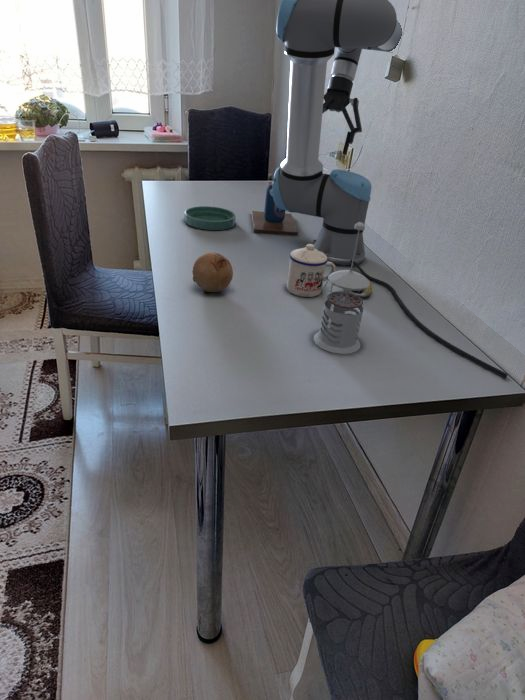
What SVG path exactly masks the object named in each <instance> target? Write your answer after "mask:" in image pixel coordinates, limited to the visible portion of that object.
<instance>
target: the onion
mask: <svg viewBox="0 0 525 700" xmlns="http://www.w3.org/2000/svg"><path fill="white" fill-rule="evenodd" d="M191 273H192V280H193V283H196V285H197V286H198V287H199V288H200V289H201V290H202V291H203V292H206V293H207V292H208V293H219V292H222V291H224V290H225V289H227V288H228V287H229V285H231V282H232V280H233V277H234V270H233V267H232V263H231V262H230V259H228V258H227V257H225V256H224V255H222V254H221V253H218V252H205V253H203V254H201V255H199V257H198V258H197V259H196V260H195V262H194V264H193V266H192V270H191Z"/></svg>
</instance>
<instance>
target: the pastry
mask: <svg viewBox="0 0 525 700" xmlns="http://www.w3.org/2000/svg"><path fill="white" fill-rule="evenodd" d="M369 282H370V286H369V287H368V288H366V289H365V290H360V291H351V290H348V291H347V292H348V293H352V294H355V295H357V296H359V297H360V298H367V297H369V296H370V295H371V294H372V292H373V286H372V285H373V284H372V282H371V280H369ZM343 292H346V290H345V289H343Z"/></svg>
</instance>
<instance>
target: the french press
mask: <svg viewBox="0 0 525 700" xmlns="http://www.w3.org/2000/svg"><path fill="white" fill-rule="evenodd" d="M365 227H366V226H365V225H364V224H363V223H361V222H358V223H356V224H355V226H354V228H355V229H356V230H358V234H357V239H356V244H355V250H354V255H353V260H352V265H351V266H350V269H343V270H342V269H341V270H335V272H333V273H331V274H330V273H329V274H330V275H329V274H328V275H329V276H328V275H327V276H328V279H329V280H327V281H325V284H324V287H323V292H322V297H323V298H322V301H323V311H322V317H321V322H320V328H319V330H318V332H316V333H315V334H314V335H313V341H314V343H315V345H316V346H318V347H319V348H320V349H322V350H324V351H327V352H330V353H332V354H333V353H334V354H340V355H346V354H347V355H348V354H353V353H356V352H357V351H359V350H360V348H361V341H360V340H359V339H358V336H359V332H360V329H359V328H360V327H361V321H362V318H363V314H364V307H363V305H364V300H363V298H362V297H360V296H357V295H355V294H352V293H348V292H347V291H348V290H351V291H360V290H365V289H366V288H368V287H369V286H370V282H371V281H370V279H368V278H367V277H365V276H364V275H363V274H362V273H361V272H358V271H353V266H354V265H353V261H354V256H355V251H356V246H357V241H358V236H359V231H360V230H363V231H365ZM369 281H370V282H369ZM329 282H330V283H331V286H330V290H329V293H328V294H327V295H326V300H325V292H326V286H327V284H328V283H329ZM333 286H334V287H337V288H339V289H342V290H343V291H342V290H336V291H333ZM344 289H345V290H346V292H344ZM331 308H332V309H331ZM357 309H358V310H359V311H358V310H357ZM346 312H352V313H346ZM353 313H355V314H353Z"/></svg>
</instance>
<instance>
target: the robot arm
mask: <svg viewBox="0 0 525 700" xmlns="http://www.w3.org/2000/svg"><path fill="white" fill-rule="evenodd" d="M398 21H399V20H398V17H397V13H396V9H395V7H394V5H393V4H392V3H391V1H390V0H280V3H279V7H278V12H277V17H276V27H275V29H276V38H277V39H278V41H279V42H281V43H284V54H285V55H286V56H287V58H288V59H289V60H290V71H289V93H288V94H289V95H288V112H287V113H288V114H287V115H288V116H287V138H286V158H284V159H283V160H282V161H281V162H280V166H278V167H277V168H276V169H275V171H274V173H273V174H274V175H273V181H272V182H273V186H272V190H273V199H274V202H275V204H276V206H277V207H278V208H280V209H282V210H285V212H289V213H291V214H292V213H297V214H301V215H306V216H311V217H317V218H323V219H322V226H321V229H320V231H319V233H318V235H317V237H316V239H313V241H312V244H313V245H314V246H315V249H317V250H318V251H320V252H322V253H324V254H325V255H326V256H327V259H328V262H332V263H333V264H334V265H335V266H343V267H344V266H346V267H351V265H352V260H353V255H354V250H355V244H356V239H357V234H358V230H356V229H355V228H354V226H355V224H356V223H358V222H361V223H363V224H364V226H365V224H366V219H367V214H368V209H369V204H370V201H371V195H372V194H371V193H372V187H373V186H372V182H371V181H370V180H369V179H368V178H367V177H365V176H364V175H361V174H359V173H356V172H353V171H349V170H345V169H340V168H339V169H337V168H336V169H332V170H331V172H330V173H324V172H323V171H324V164H323V163H322V161H320V159H319V155H320V144H321V133H322V122H323V114H325V113H326V112H327V111H330V112H336V113H340V112H342V114H343V116H344V119H345V121H346V123H347V126H348V127H349V131H347V134H346V137H345V141H344V145H343V149H342V154H343V155H345V156H347V154H348V151H349V148H350V145H353V143H354V140H355V135H356V134H357V133H362V131H363V128H362V122H361V116H360V111H359V104H360V101H359V98H358V97H354V98H351V95H352V90H353V85H354V82H353V81H355V78H356V74H357V70H358V66H359V62H360V58H361V54H362V51H363V50H368V51H377V52H378V51H379V52H386V53H391V52H390V51H392V50H393V49H395V48H396V46H397V45H398V43H399V41H400V39H401V36H402V28H401V25H400V23H399V22H398ZM335 49H336V51H335ZM333 56H334V60H333V64H332V68H331V71H330V77H329V79H328V84H327V89H326V79H327V78H326V76H327V66H328V62H329V60H330V59H332V58H333ZM325 89H326V92H325ZM349 105H350V106H351V107H352V109H353V115H354V121H355V122H354V123H355V126H354V124H353V121H352V119H351V117H350V115H349V113H348V110H347V108H346V107H348V106H349ZM365 256H366V251H365V241H364V230H360V231H359V236H358V241H357V246H356V251H355V256H354V261H353V266H354V267H355V268H357V270H358V271H359V273H360V274H361V275H363V276H365V277H366V278H367V279H368V280H369V281H373V282H374V283H378V284H380V285H383V286H384V287H386V288H388V290H389V291H391V293H392V296H393V297H394V298H395V300H396V301H397V302H398V304H399V305H400V307H401V308H402V309H403V311H404V312H405V313H406V314H407V315H408V316H409V318H410V319H411V320H412V321H413V322H414V323H415V324H416V325H417V326H418V327H420V329H422V330H423V331H424V332H426V333H427V334H428V335H430V337H432V338H434V339H435V340H436V341H438V342H439V343H441V344H443V345H444V346H445V347H448V348H450V350H452V351H454V352H456V353H458V354H460V355H461V356H463V357H465V358H467V359H469V360H471V361H473V362H474V363H477V364H478V365H481V366H482V367H484V368H486V369H488V370H489V371H492V372H494V373H496V374H498V375H499V376H502V377H503V378H507V377H508V375H509V374H508V373H506V372H505V371H503V370H501V369H499V368H497V367H495V366H493V365H491V364H489V363H487V362H485V361H483V360H481V359H479V358H477V357H476V356H474V355H472V354H470V353H468V352H467V351H464V350H462V349H461V348H459V347H457V346H455V345H454V344H452V343H450V342H449V341H447V340H445V339H444V338H442V337H441V336H439V335H438V334H436V333H435V332H433V331H432V330H431V329H429V328H428V327H427V326H425V325H424V324H423V323H422V322H420V321H419V320H418V318H417V317H416V316H415V315H413V313H412V312H411V311H410V310H409V308H407V306H406V305H405V304H404V302H403V300H402V299H401V297H399V295H398V294H397V291H396V289H394V287H393V286H391V285H390V284H389V283H388V282H385V281H383V280H381V279H378V278H376V277H373V276H371V275H369V274H367V272H365V271H364V269H363V268H362V267H361V266H360V264H362V263H363V262H364V260H365Z"/></svg>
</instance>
